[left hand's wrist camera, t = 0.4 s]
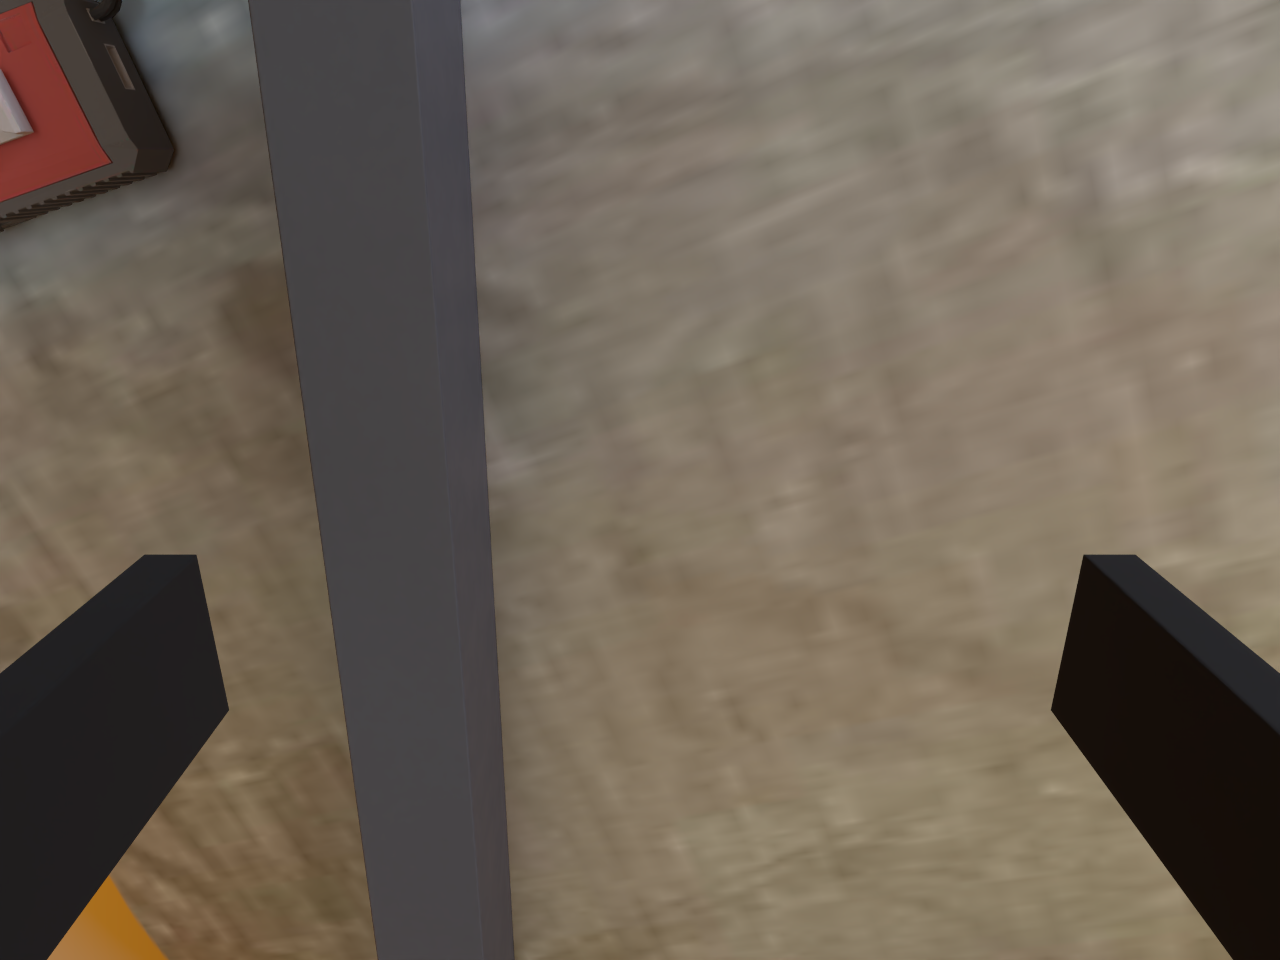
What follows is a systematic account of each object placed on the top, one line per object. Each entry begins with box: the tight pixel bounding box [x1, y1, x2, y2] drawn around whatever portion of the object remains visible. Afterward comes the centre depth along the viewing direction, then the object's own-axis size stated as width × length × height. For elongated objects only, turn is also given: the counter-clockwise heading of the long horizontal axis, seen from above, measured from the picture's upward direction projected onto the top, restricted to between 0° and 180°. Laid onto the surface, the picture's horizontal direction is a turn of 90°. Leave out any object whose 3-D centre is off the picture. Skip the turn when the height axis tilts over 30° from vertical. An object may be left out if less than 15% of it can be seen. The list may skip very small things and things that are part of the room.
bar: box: [248, 0, 514, 960], centre depth 39 cm, size 75×5×8 cm, turn 179°
